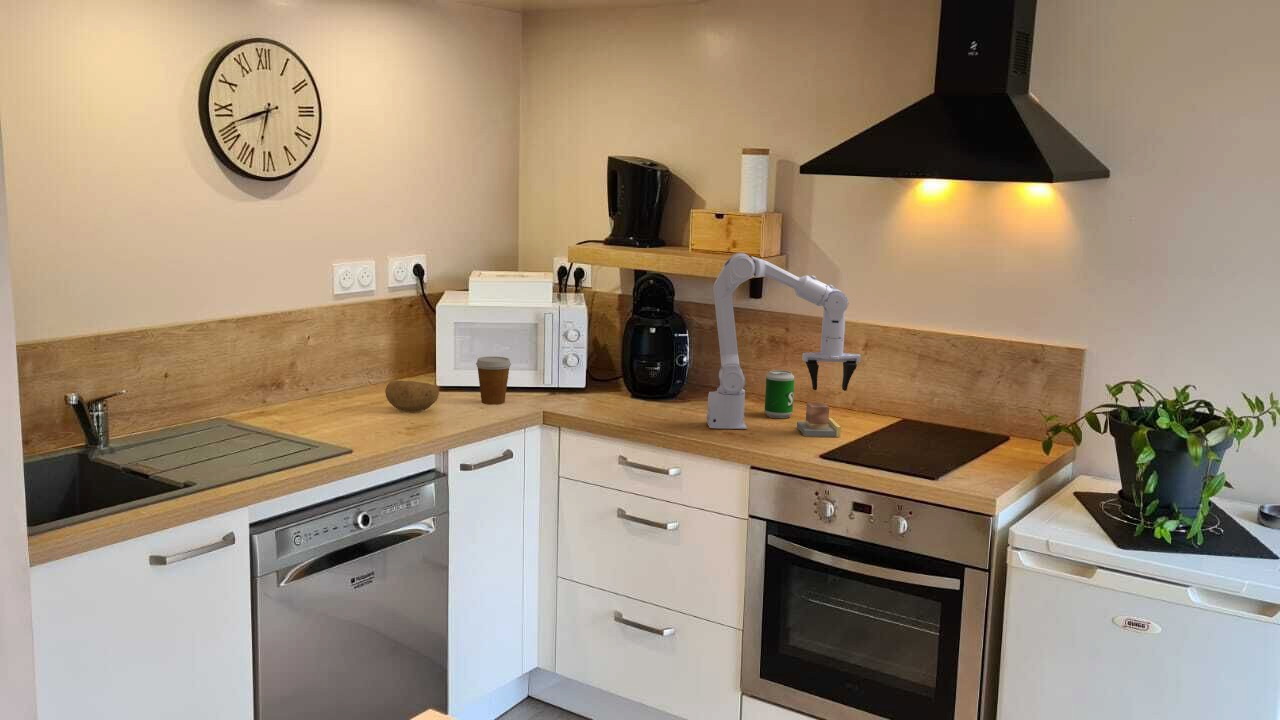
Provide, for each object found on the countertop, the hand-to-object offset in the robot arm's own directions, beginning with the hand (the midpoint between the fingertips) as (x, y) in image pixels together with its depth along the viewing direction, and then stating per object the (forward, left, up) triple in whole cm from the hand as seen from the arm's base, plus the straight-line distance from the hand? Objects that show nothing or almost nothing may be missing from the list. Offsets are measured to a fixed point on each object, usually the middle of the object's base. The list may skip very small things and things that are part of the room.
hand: (829, 389), depth 286 cm
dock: (-3, -3, -10) cm, 11 cm away
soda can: (-10, +15, -11) cm, 21 cm away
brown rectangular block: (-3, -3, -9) cm, 10 cm away
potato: (-107, +12, -11) cm, 108 cm away
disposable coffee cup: (-87, +25, -11) cm, 91 cm away
